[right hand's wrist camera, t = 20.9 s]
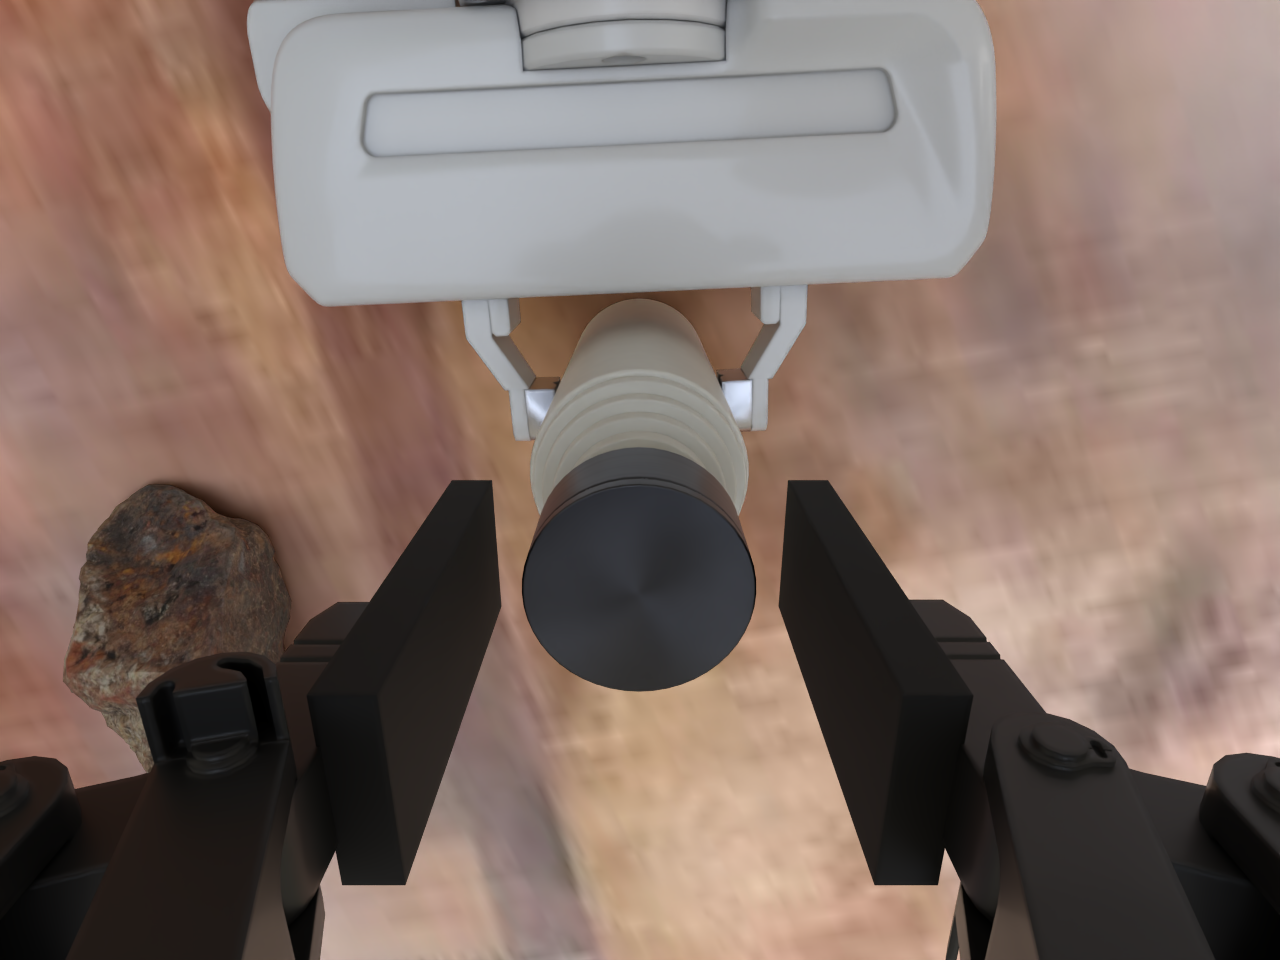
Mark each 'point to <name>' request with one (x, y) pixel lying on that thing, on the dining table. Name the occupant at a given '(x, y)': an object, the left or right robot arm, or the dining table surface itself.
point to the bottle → (639, 400)
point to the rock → (168, 601)
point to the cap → (639, 571)
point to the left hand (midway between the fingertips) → (642, 431)
